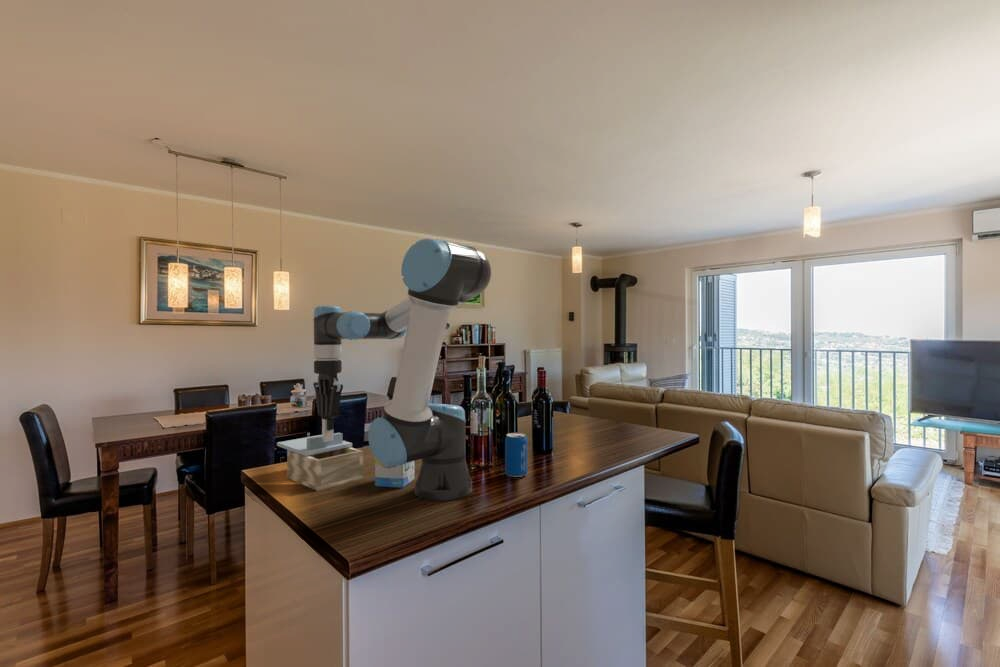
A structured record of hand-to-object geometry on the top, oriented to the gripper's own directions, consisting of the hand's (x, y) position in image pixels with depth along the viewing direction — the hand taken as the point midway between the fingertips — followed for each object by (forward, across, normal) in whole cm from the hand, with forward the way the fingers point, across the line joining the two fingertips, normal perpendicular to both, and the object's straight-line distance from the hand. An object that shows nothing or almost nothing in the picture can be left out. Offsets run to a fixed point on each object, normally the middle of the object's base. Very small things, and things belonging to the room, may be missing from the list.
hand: (327, 440), depth 132 cm
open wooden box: (+11, +2, 0) cm, 11 cm away
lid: (+3, +8, 0) cm, 9 cm away
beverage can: (+11, -39, -38) cm, 56 cm away
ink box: (+11, -17, -11) cm, 23 cm away
